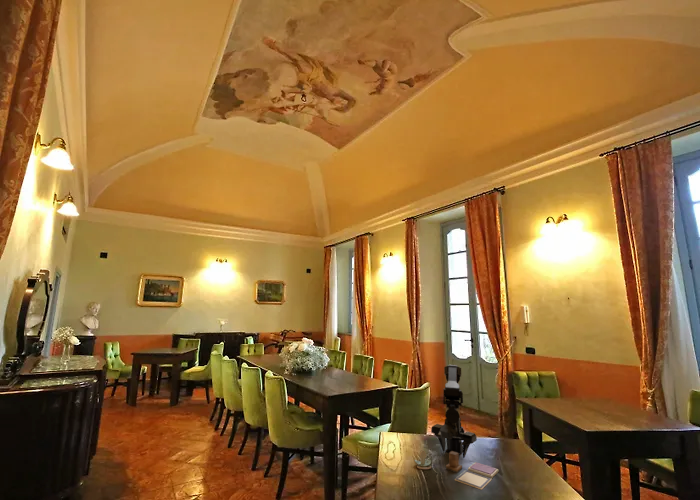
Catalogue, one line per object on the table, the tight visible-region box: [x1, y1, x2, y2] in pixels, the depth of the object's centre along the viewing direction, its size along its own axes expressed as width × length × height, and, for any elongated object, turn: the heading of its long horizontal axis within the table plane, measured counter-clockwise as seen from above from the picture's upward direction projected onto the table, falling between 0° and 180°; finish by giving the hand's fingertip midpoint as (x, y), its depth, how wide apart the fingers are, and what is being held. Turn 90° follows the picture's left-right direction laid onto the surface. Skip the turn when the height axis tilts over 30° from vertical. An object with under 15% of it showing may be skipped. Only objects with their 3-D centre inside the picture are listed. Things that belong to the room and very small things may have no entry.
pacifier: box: [414, 449, 432, 470], centre depth 154 cm, size 7×6×6 cm
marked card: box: [454, 469, 492, 491], centre depth 143 cm, size 11×11×1 cm
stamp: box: [445, 451, 463, 474], centre depth 153 cm, size 5×5×6 cm
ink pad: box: [467, 461, 499, 479], centre depth 151 cm, size 10×8×1 cm
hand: (453, 454), depth 153 cm, fingers open, 9 cm apart
